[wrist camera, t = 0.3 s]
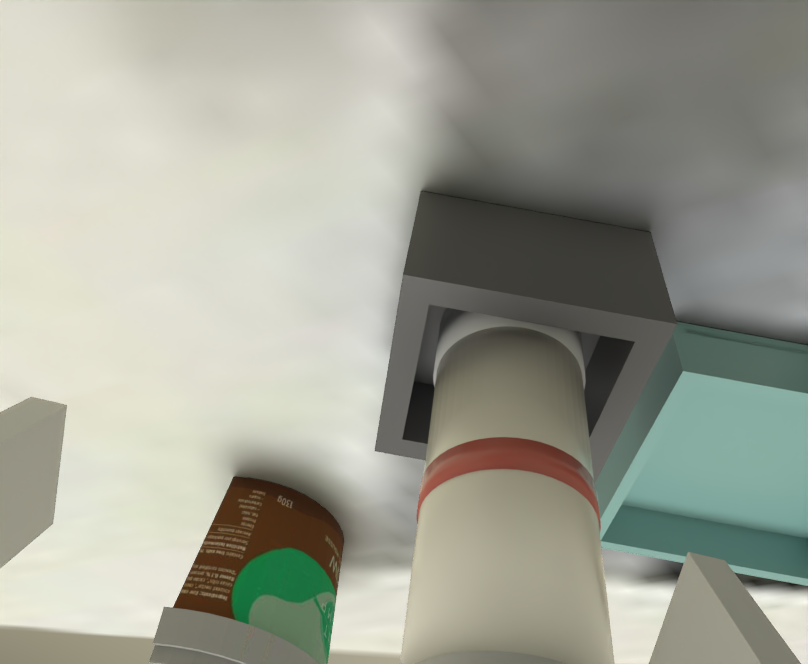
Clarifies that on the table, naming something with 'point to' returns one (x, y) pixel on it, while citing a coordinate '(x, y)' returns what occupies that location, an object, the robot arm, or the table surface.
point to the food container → (257, 583)
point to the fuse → (507, 504)
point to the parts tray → (715, 457)
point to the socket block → (526, 307)
